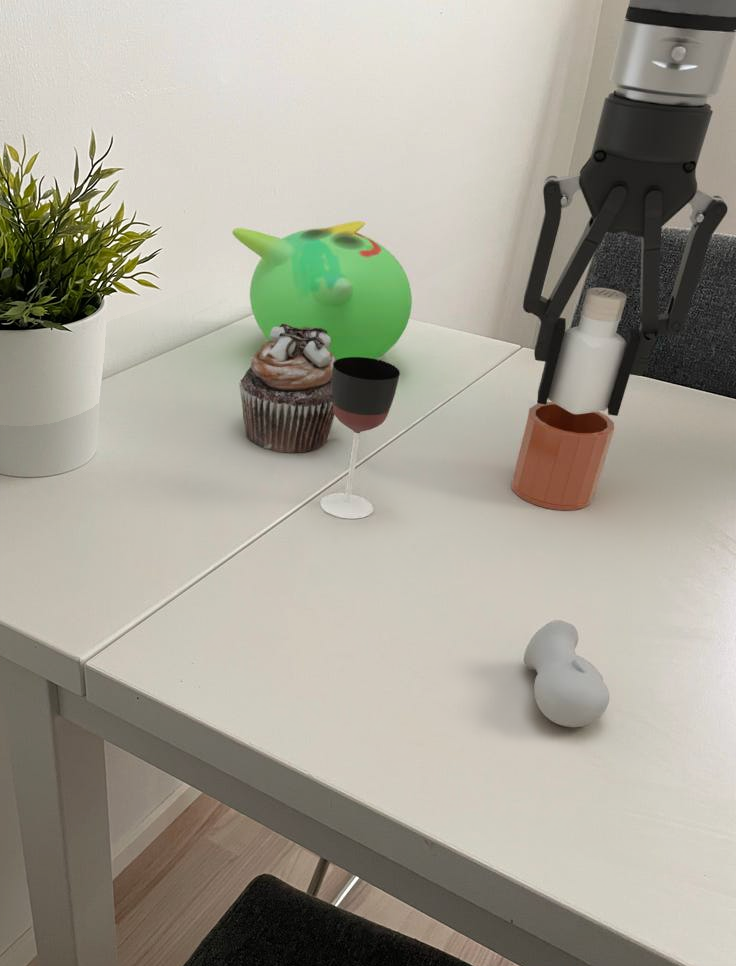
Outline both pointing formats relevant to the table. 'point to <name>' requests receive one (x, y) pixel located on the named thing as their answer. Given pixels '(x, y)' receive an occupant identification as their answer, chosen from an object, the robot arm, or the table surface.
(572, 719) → the smooth white sculpture
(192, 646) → the table surface
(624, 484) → the table surface
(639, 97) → the robot arm
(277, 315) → the toy bird
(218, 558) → the table surface
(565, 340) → the pepper shaker
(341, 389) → the wineglass
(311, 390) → the cupcake
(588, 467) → the flowerpot
